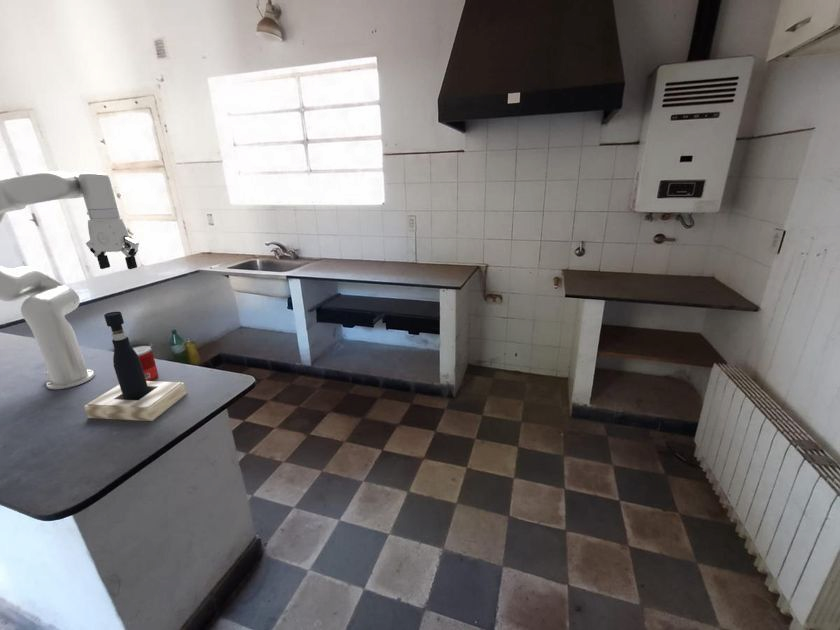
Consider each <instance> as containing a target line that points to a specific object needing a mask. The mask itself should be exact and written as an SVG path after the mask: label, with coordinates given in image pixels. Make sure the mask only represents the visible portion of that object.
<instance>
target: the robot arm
mask: <svg viewBox="0 0 840 630" xmlns="http://www.w3.org/2000/svg"><path fill="white" fill-rule="evenodd" d="M110 179H111V178H110V177H109V175H107V174H106V173H104V172H81V173H77V172H71V171H70V172H69V171H68V172H67V171H44V172H36V173H32V174H26V175H20V176H15V177H11V178H5V179H1V180H0V224H1V223H2V221H3V219H4V217H5V214H6V213H8V212H12V211H13V212H14V211H15V212H16V211H20V210H23V209H25V208H26V207H27V206H29V205H35V204H40V203H45V202H46V203H47V202H51V201H58V200H66V199H80V198H83V200H84V204H85V207H86V210H87V211H86V214H87V216H88V218H89V219H88V220H87V228H88V230H87V231H88V236H89V240H88V241H87V242H85V245H86V246H87V247H88V249H89V251H90V252H91V253H92V254H93V255H94V257H95V258H96V259H97V261H98V265H99V268H100V269H101V270H105V269H108V268H110V267H111V265H110V261H109V257H108V255H107V253H114V252H115V253H118V252H122V254H124V256H125V257H124V258H125V264H126V267H127V270H133V269H137V268H138V264H137V260H136V256H137V252H138V251H139V245H140V244H139V241H135V240H134V239H132V238H130V236H129V232H128V230H127V226H126V225H125V223H124V221H123V219H122V218H121V217H120V212H119V209H118V206H117V202H116V197H115V193H114V190H113V186H112V182H111V180H110ZM28 296H29V297H28ZM27 297H28V298H27ZM25 298H26V299H25ZM21 299H25V300H24V301H23V302H22V303H21V306H20V307H21V308H20V312H21V315H22V318H23V319H24V320H25V322H26V323H27V325H28V327H29V328H30V331H31V332H32V334H33V336H34V338H35V341H36V343H37V346H38V349H39V351H40V354H41V357H42V359H43V361H44V365H45V367H46V369H45V371H43V372H42V375H41V376H43V377H48V381H47V382H46V385H45V386H46V387H47V389H50V390H64V389H69V388H72V387H77V386H80V385H82V384H84V383H87V382H89V381H90V380H92V379H93V378H94V377H95V370H93V369H88V368H87V365H86V361H85V359H84V356H83V354H82V353H83V352H82V350H81V348H80V345H79V342H78V339H77V335H76V333H75V331H74V328H73V326H72V324H71V323H70V322H69V321H68V320H67V319H66V317H65V316H67V315H68V314H69V313H71V312H73V311H75V310H76V309H77V308H78V307H79V306H80V301H81V300H80V297H79V295H78V293H77V292H76V290H74V289H72V288H71V287H70V286H68V285H67V284H65V283H63V282H61V281H60V280H58V279H57V278H55V277H53V276H51V275H49V274H48V273H46V272H44V271H42V269H38V268H36V267H32V266H27V265H20V266H19V265H18V266H14V267H11V268H7V267H5V266H2V265H0V300H1V301H4V302H14V301H15V302H16V301H18V300H21Z"/></svg>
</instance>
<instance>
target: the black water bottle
mask: <svg viewBox="0 0 840 630" xmlns="http://www.w3.org/2000/svg"><path fill="white" fill-rule="evenodd" d="M103 317H104V320H105V323H106V326H107V327H110V330H111V339H112V340H111V342H112V345H113V348H114V351H113V357H112V361H113V367H114V372H115V374H116V378H117V382H118V385H120V388H121V391H122V394H123V398H124V400H140V399H141V398H143V397H144V396H145V395H147V394H148V393H149V389H148V386H147V382H146V379H145V375H144V372H143V368H142V364H141V361H140V359H139V357H138V355H137V353H136V352H135V351H134V349H133V348H134V347H132V346H131V342H130V340H129V337H128V336H127V334H126V331H125V330H124V328H123V325H124V324H125V321H124V318H123V314H122V312H121V311H110V312H107V313H105V314H104V315H103Z"/></svg>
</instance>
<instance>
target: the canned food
mask: <svg viewBox="0 0 840 630" xmlns="http://www.w3.org/2000/svg"><path fill="white" fill-rule="evenodd" d="M132 348H133V349H134V351H135V352H136V353H137V355H138V357H139V359H140V361H141V364H142V368H143V372H144V375H145V379H146V381H155V380H156V379H157V378H158V377H159V372H158V368H157V365H156V361H155V356H154V353H153V349H152V347H151V346H149V345H141V346H136V347H135V346H134V347H132Z"/></svg>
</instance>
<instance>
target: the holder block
mask: <svg viewBox="0 0 840 630" xmlns="http://www.w3.org/2000/svg"><path fill="white" fill-rule="evenodd" d="M146 382H147V386H148V389H149V393H148V394H147V395H145V396H144V397H143V398H141V399H140V400H124V398H123V394H122V391H121V388H120V385H119V384H117V385H116V386H114V387H113V388H111V389H110V390H108V391H106V392H104V393H103V394H101V395H100V396H98V397H97V398H95V399H93V400H91V401H90V402H88V403H87V404H85V405H84V409H85V412H86V415H87V417H88V419H100V420H101V419H104V420H105V419H106V420H122V421H123V420H125V421H126V420H127V421H146V422H153V421H154V420H156V419H157V418H158V417H159V416H160V415H162V414H163V413H165V412H166V411H167V410H168V409H170V407H172V406H173V405H174V404H176V403H177V402H178V401H179V400H181V399H182V398H183V397H185V396H186V395H187V394H188V393H187V389H186V386H185V382H181V381H159V380H158V381H157V380H156V381H155V380H153V381H146Z"/></svg>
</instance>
